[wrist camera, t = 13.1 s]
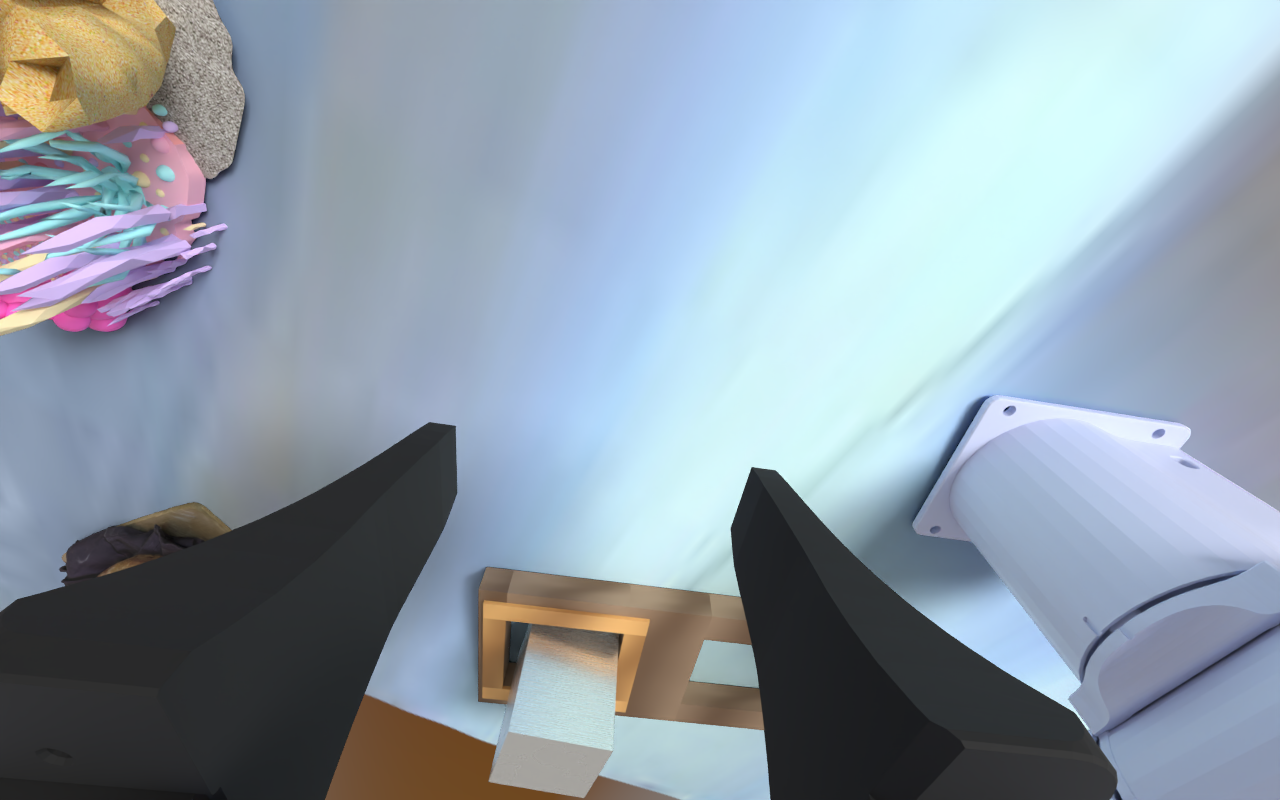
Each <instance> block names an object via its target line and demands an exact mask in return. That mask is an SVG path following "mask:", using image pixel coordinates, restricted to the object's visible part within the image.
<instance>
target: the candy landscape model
mask: <svg viewBox="0 0 1280 800" xmlns="http://www.w3.org/2000/svg"><path fill="white" fill-rule="evenodd" d="M231 59H232V41H231V37H230V35H229V33H228V31H227V29H226V27H225V26H224V24H223V23H222V21H221V19H220V17H219V15H218V12H217V10H216V7H215V5H214V2H213V0H0V319H1V320H0V336H1V335H5V334H8V333H12V332H15V331H19V330H22V329H26V328H29V327H31V326H33V325H36V324H38V323H40V322H42V321H45V320H47V319H49V320H53V321H54V323H55V324H56V325H57V326H58V327H59V328H61V329H63V330H66V331H72V332H77V331H82V330H85V329H86V328H88V327H89V328H91V329H94V330H97V331H103V332H110V331H115V330H118V329H120V328H121V327H123V326H124V325H125V323H126V321H127V317H129V316H131V315H134V314H136V313H138V312H140V311H142V310H144V309H146V308H148V307H153V306H156V305H158V304H159V303H160V302H159V301H157V300H156V301H153V302H151V303H148V302H149V301H151V300H152V299H156V298H160V297H163V296H165V295H167V294H168V293H170V292H172V291H175V290H178V289H179V288H181V287H183V286H187V285H191V284H192V282H193V281H192V276H194V275H196V274H198V273H201V272H206V271H209V270H211V267H210V266H205V267H202V268H199V269H196V270H193V271H190V272H187V273H185V274H183V275H181V276H180V277H178V278H175V279H172V280H171V281H168V282H166V283H162V284H158V285H154V286H147V287H144V288H142V289H137V290H133V289H132V286H133V285H135V284H138V283H140V282H143V281H147V280H151V279H155V278H157V277H158V276H161V275H163V274H166V273H170V272H174V271H175V269H176V267H178V266H181V265H184V264H186V262H187V261H188V260H187V259H189V258H191V257H193V256H194V255H199V253H205V252H207V251H210V250H214V249H216V247H217V246H216V245H215V244H214V243H211V244H208V245H206V246H204V247H198V248H195V249H193V250H190V249H191V245H192V243H193V242H194V240H195V239H196V238H197V237H200V236H203V235H207V234H210V233H212V232H214V231H222V230H226V229H227V227H228V226H226V225H225V224H224V223H223V224H220V225H216V226H213V227H210V228H208V229H204V230H199V231H197V232H194V230H195V229H198V228H200V227H205V226H206V224H205V223H198V224H192V221H191V220H192V219H195V218H198V217H199V216H200V214H201V212H205V211H207V208H206V204H205V203H204V195H205V186H206V178H209V179H212V178H215V177H216V176H217V174H218V173H219V172H220V171H222V170H224V169H226V168H228V167H229V166H230V165H231V163H232V161H233V157H234V152H235V148H236V143H237V139H238V134H239V129H240V124H241V119H242V114H243V109H244V103H245V94H244V91H243V88H242V86H241V84H240V82H239V81H238V79H237V77H236V76H235V74H234V71H233V68H232V62H231ZM175 256H178V259H176V260H174V261H164V259H167V258H171V257H175ZM146 303H148V304H146ZM145 304H146V305H145ZM141 305H143V306H141ZM138 306H140V307H138ZM135 307H137V308H135ZM132 308H135V309H133V310H131V311H129V312H128V313H126V312H127V311H128V310H129V309H132Z"/></svg>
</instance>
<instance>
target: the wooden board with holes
mask: <svg viewBox="0 0 1280 800" xmlns="http://www.w3.org/2000/svg"><path fill="white" fill-rule="evenodd" d="M511 621H514V622H523V623H532V624H541V625H550V626H558V627H567V628H576V629H585V630H594V631H603V632H612V633H620V634H619V643H618V663H617V683H616V703H615V715H618V716H628V717H638V718H648V719H658V720H668V721H678V722H688V723H698V724H708V725H718V726H728V727H738V728H748V729H758V730H764V723H763V714H762V706H761V698H760V690H759V689H757V688H748V687H738V686H729V685H720V684H710V683H701V682H691V681H689V680H690V677H691V674H692V671H693V669H694V666H695V663H696V660H697V658H698V655H699V652H700V649H701V647H702V644H703V641H704V640H712V641H721V642H730V643H739V644H748V645H752V643H751V639H750V634H749V630H748V626H747V621H746V617H745V613H744V608H743V604H742V600H741V597H735V596H726V595H718V594H710V593H701V592H693V591H685V590H676V589H668V588H659V587H651V586H643V585H634V584H626V583H618V582H609V581H601V580H593V579H584V578H576V577H567V576H559V575H551V574H542V573H534V572H526V571H517V570H509V569H500V568H492V567H486V570H485V573H484V575H483V578H482V581H481V584H480V587H479V598H478V702H488V703H498V704H507V701H508V696H509V692H510V688H511V684H512V679H513V675H514V671H515V667H516V663H512V662H509V655H510V636H511Z"/></svg>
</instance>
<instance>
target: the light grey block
mask: <svg viewBox="0 0 1280 800" xmlns="http://www.w3.org/2000/svg"><path fill="white" fill-rule="evenodd" d="M618 643H619V633H612V632H603V631H594V630H585V629H576V628H567V627H558V626H550V625H541V624H532V623H529V626H528V628H527V631H526V634H525V637H524V639H523V642H522V645H521V648H520V650H519V654H518V658H517V662H516V667H515V671H514V675H513V679H512V684H511V688H510V692H509V696H508V701H507V705H506V709H505V713H504V718H503V722H502V726H501V730H500V735H499V739H498V743H497V747H496V752H495V756H494V760H493V764H492V769H491V773H490V777H489V782H492V783H498V784H504V785H511V786H516V787H522V788H528V789H533V790H539V791H546V792H551V793H557V794H563V795H570V796H575V797H581V798H584V797H585V796H586V794H587V793H588V791H589V789H590V788H591V786H592V784H593V783H594V781H595V780H596V778H597V776H598V775H599V773H600V772H601V770H602V768H603V767H604V765H605V763H606V762H607V760H608V759H609V757H610V755H611V754H612V752H613V743H614V723H615V703H616V683H617V663H618Z"/></svg>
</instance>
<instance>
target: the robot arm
mask: <svg viewBox="0 0 1280 800" xmlns="http://www.w3.org/2000/svg"><path fill="white" fill-rule="evenodd" d="M1008 406H1010V407H1009V408H1008V409H1007V410H1005V411H1004V409H1005V408H1006V407H1008ZM1190 435H1191V430H1190V428H1188V427H1186V426H1185V425H1183V424H1180V423H1175V422H1168V421H1162V420H1156V419H1149V418H1143V417H1136V416H1130V415H1123V414H1117V413H1111V412H1104V411H1098V410H1091V409H1085V408H1079V407H1072V406H1066V405H1059V404H1053V403H1046V402H1040V401H1034V400H1027V399H1021V398H1014V397H1008V396H1002V395H995V396H992V397H989V398H988V399H986V400H985V402H984V403H983V404H982V406H981V408H980V409H979V411H978V413H977V414H976V416H975V418H974V419H973V421H972V423H971V425H970V426H969V428H968V430H967V431H966V433H965V435H964V436H963V438H962V440H961V442H960V443H959V445H958V447H957V448H956V450H955V452H954V453H953V455H952V457H951V459H950V460H949V462H948V464H947V465H946V467H945V469H944V470H943V472H942V474H941V476H940V477H939V479H938V481H937V482H936V484H935V486H934V487H933V489H932V491H931V493H930V494H929V496H928V498H927V499H926V501H925V503H924V504H923V506H922V508H921V510H920V511H919V513H918V515H917V516H916V518H915V520H914V521H913V524H912V527H913V529H914V530H915V532H916V533H917V534H919V535H925V536H933V537H940V538H948V539H955V540H963V541H970V542H973V544H974V545H975V546H976V548H977V549H978V550H979V551H980V553H981V554H982V555H983V557H984V558H985V559H986V561H987V562H988V563H989V564H990V566H991V567H992V568H993V570H994V571H995V572H996V574H997V575H998V576H999V578H1000V579H1001V580H1002V581H1003V583H1004V584H1005V585H1006V587H1007V588H1008V589H1009V591H1010V592H1011V593H1012V594H1013V596H1014V597H1015V598H1016V600H1017V601H1018V602H1019V604H1020V605H1021V606H1022V607H1023V609H1024V610H1025V611H1026V613H1027V614H1028V615H1029V617H1030V618H1031V619H1032V620H1033V622H1034V623H1035V624H1036V626H1037V627H1038V628H1039V630H1040V631H1041V632H1042V633H1043V635H1044V636H1045V637H1046V639H1047V640H1048V641H1049V643H1050V644H1051V645H1052V646H1053V648H1054V649H1055V650H1056V652H1057V653H1058V654H1059V656H1060V657H1061V658H1062V659H1063V661H1064V662H1065V663H1066V665H1067V666H1068V667H1069V669H1070V670H1071V671H1072V672H1073V674H1074V675H1075V676H1076V678H1077V679H1078V680H1079V682H1080V683H1081V686H1080V687H1079V688H1078V689H1077V690H1076V691H1075V692H1074V693H1073V694H1071V695H1070V696H1069V698H1068V700H1069V701H1070V703H1071V704H1072V705H1073V707H1074V708H1075V709H1076V711H1077V712H1078V714H1079V715H1080V716H1081V718H1082V719H1083V720H1084V722H1085V723H1086V725H1087V726H1088V727H1089V729H1090V730H1088V731H1087V729H1086V728H1085V726H1084V725H1083V724H1082V722H1081V721H1080V719H1079V718H1078V717H1077V715H1076V714H1075V713H1074V712H1073V711H1071V710H1069V709H1067V708H1066V707H1064V706H1062V705H1061V704H1059V703H1057V702H1056V701H1054V700H1052V699H1050V698H1049V697H1047V696H1045V695H1044V694H1042V693H1040V692H1039V691H1037V690H1035V689H1033V688H1032V687H1030V686H1028V685H1027V684H1025V683H1023V682H1021V681H1020V680H1018V679H1016V678H1015V677H1013V676H1011V675H1010V674H1008V673H1006V672H1005V671H1003V670H1002V669H1000V668H999V667H997V666H996V665H994V664H993V663H991V662H990V661H988V660H986V659H985V658H983V657H982V656H980V655H979V654H977V653H976V652H974V651H973V650H971V649H970V648H968V647H967V646H965V645H964V644H963V643H961V642H960V641H958V640H957V639H955V638H954V637H952V636H951V635H950V634H948V633H947V632H945V631H944V630H943V629H941V628H940V627H939V626H937V625H936V624H935V623H933V622H932V621H931V620H929V619H928V618H927V617H925V616H924V615H923V614H921V613H920V612H919V611H917V610H916V609H915V608H914V607H912V606H911V605H910V604H909V603H907V602H906V601H905V600H904V599H902V598H901V597H900V596H899V595H898V594H896V593H895V592H894V591H893V590H892V589H891V588H890V587H888V586H887V585H886V584H885V583H884V582H883V581H881V580H880V579H879V578H878V577H877V576H876V575H874V574H873V573H872V572H871V571H870V570H869V569H868V568H867V567H866V566H865V565H864V564H863V563H862V562H861V561H860V560H859V559H857V558H856V557H855V556H854V555H853V554H852V553H851V552H850V551H849V550H848V549H847V548H846V547H845V546H844V545H843V544H842V543H841V542H840V541H839V540H838V539H837V538H836V536H835V535H834V534H833V533H832V532H831V531H830V530H829V529H828V528H827V527H826V526H825V525H824V524H823V523H822V521H821V520H820V519H819V518H818V517H817V516H816V515H815V514H814V513H813V512H812V510H811V509H810V508H809V507H808V506H807V505H806V504H805V502H804V501H803V500H802V499H801V498H800V497H799V496H798V494H797V493H796V492H795V491H794V490H793V489H792V488H791V486H790V485H789V484H788V483H787V482H786V481H785V480H784V479H783V478H782V476H781V475H780V474H779V473H778V472H777V471H775V470H768V469H761V468H754V467H752V468H751V471H750V474H749V477H748V480H747V483H746V485H745V488H744V491H743V494H742V497H741V500H740V503H739V506H738V509H737V512H736V514H735V517H734V520H733V523H732V526H731V537H732V550H733V560H734V568H735V572H736V577H737V582H738V586H739V591H740V595H741V600H742V604H743V608H744V613H745V617H746V621H747V626H748V630H749V634H750V639H751V643H752V648H753V652H754V657H755V663H756V668H757V674H758V682H759V690H760V698H761V706H762V714H763V723H764V733H765V743H766V752H767V762H768V774H769V786H770V798H771V800H1280V511H1278V510H1276V509H1275V508H1273V507H1272V506H1270V505H1268V504H1267V503H1265V502H1263V501H1262V500H1260V499H1259V498H1257V497H1255V496H1254V495H1252V494H1251V493H1249V492H1247V491H1246V490H1244V489H1243V488H1241V487H1239V486H1238V485H1236V484H1235V483H1233V482H1231V481H1230V480H1228V479H1226V478H1225V477H1223V476H1222V475H1220V474H1218V473H1217V472H1215V471H1214V470H1212V469H1210V468H1209V467H1207V466H1206V465H1204V464H1202V463H1201V462H1199V461H1198V460H1196V459H1194V458H1193V457H1191V456H1190V455H1188V454H1186V453H1185V452H1183V451H1181V450H1180V448H1181V446H1182V445H1183V444H1184V443H1185V442H1186V441H1187V440H1188V438H1189V437H1190ZM456 495H457V465H456V426H452V425H445V424H438V423H431V422H429V423H427V424H426V425H424V426H422V427H421V428H419V429H418V430H416V431H415V432H413V433H412V434H410V435H409V436H407V437H406V438H404V439H403V440H401V441H400V442H398V443H397V444H395V445H393V446H392V447H390V448H389V449H387V450H386V451H384V452H383V453H381V454H379V455H378V456H376V457H375V458H373V459H372V460H370V461H368V462H367V463H365V464H364V465H362V466H360V467H359V468H357V469H355V470H354V471H352V472H350V473H348V474H347V475H345V476H343V477H341V478H340V479H338V480H336V481H334V482H333V483H331V484H329V485H327V486H326V487H324V488H322V489H320V490H319V491H317V492H315V493H313V494H311V495H309V496H307V497H305V498H303V499H301V500H299V501H297V502H295V503H293V504H291V505H289V506H287V507H285V508H283V509H281V510H278V511H276V512H274V513H272V514H270V515H268V516H266V517H263V518H261V519H259V520H257V521H254V522H252V523H249V524H247V525H244V526H242V527H239V528H237V529H234V530H232V531H230V532H227V533H225V534H222V535H220V536H217V537H215V538H212V539H210V540H207V541H205V542H202V543H200V544H197V545H194V546H191V547H189V548H186V549H183V550H180V551H177V552H175V553H172V554H169V555H166V556H163V557H160V558H157V559H154V560H151V561H148V562H145V563H142V564H139V565H136V566H133V567H130V568H126V569H123V570H120V571H117V572H113V573H110V574H107V575H103V576H100V577H96V578H93V579H89V580H86V581H82V582H79V583H75V584H71V585H68V586H64V587H61V588H57V589H54V590H50V591H47V592H43V593H40V594H36V595H32V596H28V597H24V598H20V599H17V600H16V601H14V602H13V603H12V604H10V605H9V606H8V607H6V608H5V609H4V610H2V611H1V612H0V800H325V798H326V795H327V792H328V789H329V786H330V783H331V781H332V778H333V775H334V772H335V770H336V767H337V764H338V762H339V759H340V756H341V754H342V751H343V748H344V746H345V743H346V740H347V737H348V735H349V732H350V729H351V727H352V724H353V721H354V719H355V716H356V714H357V711H358V709H359V706H360V703H361V701H362V699H363V696H364V694H365V691H366V688H367V686H368V683H369V681H370V678H371V676H372V673H373V671H374V668H375V666H376V664H377V661H378V659H379V656H380V654H381V652H382V649H383V647H384V644H385V642H386V640H387V637H388V635H389V632H390V630H391V628H392V626H393V624H394V622H395V620H396V618H397V616H398V614H399V612H400V610H401V608H402V606H403V604H404V603H405V601H406V599H407V597H408V595H409V593H410V591H411V590H412V588H413V586H414V584H415V582H416V580H417V578H418V577H419V575H420V573H421V571H422V569H423V567H424V565H425V564H426V562H427V560H428V558H429V556H430V554H431V552H432V550H433V548H434V547H435V545H436V543H437V541H438V539H439V537H440V535H441V533H442V531H443V529H444V527H445V524H446V522H447V519H448V516H449V514H450V511H451V508H452V506H453V503H454V500H455V497H456ZM934 526H935V527H934Z"/></svg>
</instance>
